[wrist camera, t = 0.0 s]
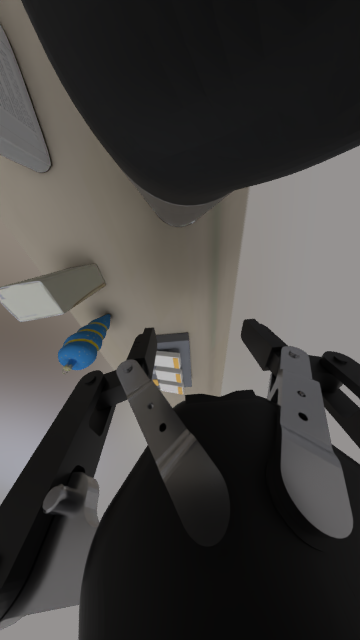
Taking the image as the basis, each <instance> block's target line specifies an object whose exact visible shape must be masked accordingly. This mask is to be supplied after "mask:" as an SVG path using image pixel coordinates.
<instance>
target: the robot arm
mask: <svg viewBox="0 0 360 640" xmlns="http://www.w3.org/2000/svg"><path fill="white" fill-rule="evenodd" d="M21 1H22V3H23V5H24V8H25V10H26V12H27V14H28V16H29V18H30V21H31V23H32V25H33V27H34V29H35V31H36V33H37V35H38V38H39V40H40V42H41V44H42V46H43V48H44V50H45V52H46V55H47V57H48V59H49V60H50V62H51V64H52V66H53V68H54V70H55V72H56V74H57V76H58V77H59V79H60V81H61V83H62V85H63V86H64V88H65V90H66V92H67V93H68V95H69V97H70V98H71V100H72V102H73V103H74V105H75V107H76V108H77V110H78V111H79V113H80V114H81V116H82V117H83V118H84V120H85V121H86V123H87V124H88V126H89V127H90V129H91V130H92V132H93V133H94V135H95V136H96V137H97V139H98V140H99V141H100V143H101V144H102V145H103V147H104V148H105V149H106V150H107V152H108V153H109V154H110V156H111V157H112V158H113V159H114V161H115V162H116V163H117V165H118V166H119V167H120V168H121V170H122V171H123V172H124V173H125V175H126V176H127V177H128V179H129V180H130V181H131V182H132V183H133V185H134V186H135V187H136V188H137V190H138V191H139V192H140V193H141V195H142V196H143V197H144V199H145V200H146V201H147V202H148V204H149V205H150V206H151V208H152V209H153V210H154V211H155V213H156V214H157V215H158V216H159V218H161V219H162V220H163V221H164V222H165V223H167V224H169V225H171V226H175V227H183V226H187V225H189V224H191V223H193V222H195V221H196V220H197V219H198V218H199V217H201V216H202V215H203V214H205V213H206V212H207V211H208V210H210V209H211V208H212V207H214V206H215V205H216V204H217V203H219V202H220V201H221V200H222V199H224V198H225V197H226V196H227V195H229V194H230V193H231V192H233V191H234V190H237V189H241V188H245V187H249V186H253V185H257V184H261V183H264V182H268V181H272V180H274V179H278V178H281V177H284V176H287V175H290V174H293V173H296V172H298V171H302V170H304V169H306V168H309V167H311V166H314V165H316V164H319V163H321V162H323V161H326V160H328V159H330V158H333V157H335V156H337V155H339V154H341V153H344V152H346V151H348V150H351V149H353V148H355V147H357V146H359V145H360V0H21ZM241 338H242V341H243V342H244V344H245V345H246V346H247V348H248V349H249V351H250V352H251V354H252V355H253V357H254V358H255V359H256V361H257V362H258V364H259V365H260V367H261V368H262V370H263V371H267V370H270V371H271V372H272V373H271V375H270V382H269V389H268V396H267V399H266V398H263V397H260V396H256V395H255V393H254V392H253V390H242V391H235V392H232V393H229V394H227V395H225V396H221V397H217V396H212V395H206V394H192V395H185V399H186V400H185V401H183V402H181V403H179V404H177V405H176V406H175V407H174V408H172V407H171V406H170V404H169V403H168V401H167V400H166V399H165V397H164V396H163V394H162V393H161V391H160V390H159V389H158V387H157V386H156V384H155V383H154V382H153V380H152V376H153V370H154V364H155V358H156V352H157V339H156V334H155V330H154V328H145V329H144V332H143V334H139V335H138V336H137V337H136V338H135V341H134V343H133V346H132V348H131V350H130V353H129V355H128V358H127V360H126V361H124V362H122V363H121V364H120V365H119V366H118V368H117V370H115V371H112V372H109V373H106V374H103V373H102V372H101V371H98V370H96V371H92V372H90V373H88V374H86V375H85V376H83V377H82V378H81V380H80V381H79V382H78V384H77V385H76V387H75V389H74V390H73V392H72V394H71V395H70V397H69V398H68V400H67V401H66V403H65V404H64V406H63V408H62V409H61V411H60V412H59V414H58V415H57V417H56V419H55V420H54V422H53V423H52V425H51V427H50V428H49V430H48V431H47V433H46V435H45V436H44V438H43V439H42V441H41V442H40V444H39V446H38V447H37V449H36V450H35V452H34V453H33V455H32V457H31V458H30V460H29V461H28V463H27V465H26V466H25V468H24V469H23V471H22V472H21V474H20V476H19V477H18V479H17V480H16V482H15V483H14V485H13V487H12V488H11V490H10V491H9V493H8V494H7V496H6V498H5V499H4V501H3V502H2V504H1V506H0V630H2V629H4V628H6V627H8V626H10V625H12V624H14V623H16V622H17V621H18V620H19V619H21V618H22V617H24V616H26V615H29V614H34V613H39V612H45V611H50V610H54V609H59V608H65V607H70V606H75V605H80V606H79V640H360V464H358V463H357V462H356V461H354V460H353V459H352V458H350V457H349V456H347V455H346V454H345V453H343V452H342V451H341V450H339V449H338V448H336V447H335V446H334V445H332V444H331V439H330V434H329V429H328V424H327V419H326V413H325V409H324V407H325V408H326V409H327V411H328V412H329V413H330V414H331V415H332V416H333V417H334V419H335V420H336V421H337V422H338V423H339V424H340V426H341V427H342V428H343V429H344V430H345V432H346V433H347V434H348V435H349V436H350V438H351V439H352V440H353V441H354V442H355V443H356V445H357V446H358V447H359V448H360V408H359V407H358V406H357V405H356V404H355V403H354V402H353V401H352V400H351V399H350V398H349V397H348V396H346V395H345V394H344V393H343V392H342V391H341V390H340V389H339V387H340V386H342V384H344V385H345V386H346V387H348V388H349V389H350V390H351V391H352V392H353V393H354V394H355V395H356V396H358V398H359V399H360V364H359V363H357V362H355V361H354V360H353V359H351V358H350V357H348V356H345V355H343V354H341V353H337V352H331V351H327V352H325V353H324V354H323V356H322V357H318V356H310V355H307V353H306V352H304V351H303V350H301V349H299V348H296V347H292V346H287V345H286V344H285V343H284V342H283V341H282V340H281V339H280V338H279V337H278V336H276V335H275V334H274V333H273V332H271V330H270V329H269V328H268V327H266V326H264V325H262V324H259V323H258V322H257V321H256V320H255V319H247V320H244V322H243V327H242V331H241ZM127 399H128V401H129V403H130V406H131V408H132V410H133V412H134V414H135V417H136V419H137V421H138V424H139V426H140V428H141V430H142V432H143V435H144V437H145V439H146V442H147V444H148V446H147V447H146V449H145V450H144V452H143V453H142V455H141V456H140V458H139V460H138V461H137V463H136V464H135V466H134V467H133V469H132V471H131V472H130V474H129V475H128V477H127V478H126V480H125V481H124V483H123V485H122V486H121V488H120V489H119V491H118V492H117V494H116V495H115V497H114V498H113V500H112V502H111V503H110V505H109V506H108V508H107V510H106V512H105V513H104V515H103V517H102V519H101V521H100V523H99V520H98V517H97V503H98V497H99V485H98V482H97V481H96V479H94V474H95V472H96V468H97V465H98V462H99V458H100V455H101V452H102V449H103V445H104V442H105V439H106V436H107V433H108V430H109V426H110V423H111V420H112V416H113V413H114V410H115V407H116V404H117V403H120V402H123V401H125V400H127Z"/></svg>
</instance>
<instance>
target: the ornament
mask: <svg viewBox="0 0 360 640" xmlns="http://www.w3.org/2000/svg"><path fill="white" fill-rule="evenodd" d="M109 326H110V314H107V315H105V316H102V317H100V318H97V319H95V320H93V321H91V322H90V323H89V324H88V325H86V326H84V327H82V328H80V329H79V330H78V331H77V333H75V334H73V335H71V336H70V337H68V338H67V339H66V341H65V342H64V345H63V347H62V348H61V349H60V350H59V352H58V359H59V362H60V363H61V364H62V365H63V366H64V368H63V370H66V371H70V370H71V369H72V370H81V369H84V368H86V367H88V366H89V365H91V364H92V363H93V362H94V361H95V359H96V356H97V351H99V349H100V348H101V346H102V340H103V339H104V338H105V336H106V331H107V330H108V329H109ZM63 374H64V373H63Z"/></svg>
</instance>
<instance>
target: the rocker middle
mask: <svg viewBox="0 0 360 640" xmlns="http://www.w3.org/2000/svg"><path fill="white" fill-rule="evenodd" d="M155 372H156V375H157V379H160V380H167V381H173V382H179V383H182V380H183V374H182V369H177V368H170V367H162V366H157V367H156V369H155Z"/></svg>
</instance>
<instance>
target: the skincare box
mask: <svg viewBox="0 0 360 640" xmlns="http://www.w3.org/2000/svg"><path fill="white" fill-rule="evenodd" d="M104 286H106V284H105V282H104V280H103V278H102V276H101V274H100V271H99V269H98V267H97V265H96V264H90V265H84V266H78V267H73V268H68V269H64V270H61V271H57V272H53V273H50V274H46V275H42V276H39V277H35V278H32V279H28V280H25V281H21V282H17V283H14V284H10V285H6V286H3V287H0V303H1V304H2V305H3V306H4V307H5V308H6V309H7V310H8V311H9V312H10V313H12V315H13V316H14V317H15V318H16V319H17V320H18V321H21V322H22V321H30V320H36V319H41V318H47V317H52V316H56V315H61V314H64V313H66V312H67V311H69V310H70V309H72V308H73V307H75V306H76V305H78V304H79V303H81V302H82V301H84V300H85V299H87V298H88V297H90V296H91V295H92V294H94V293H95V292H97V291H98V290H100V289H101V288H103V287H104Z"/></svg>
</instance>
